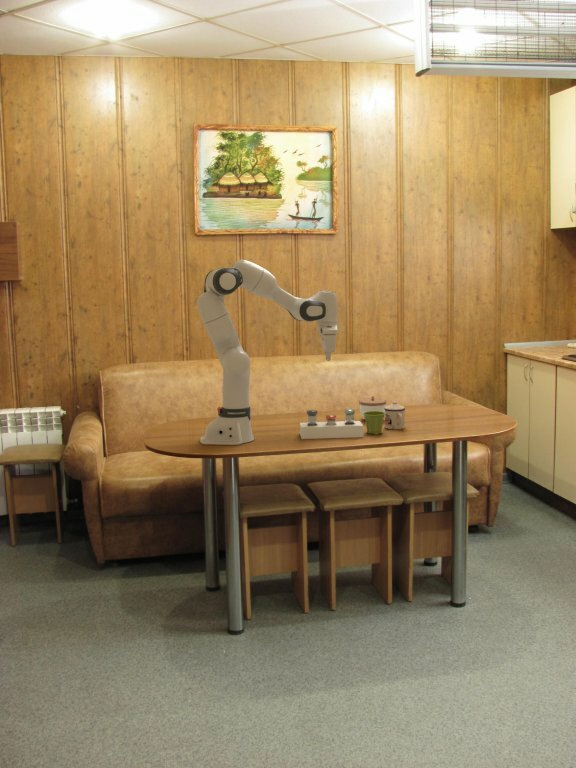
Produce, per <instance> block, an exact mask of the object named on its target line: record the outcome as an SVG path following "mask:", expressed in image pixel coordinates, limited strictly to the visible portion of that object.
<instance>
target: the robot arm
mask: <svg viewBox="0 0 576 768" xmlns="http://www.w3.org/2000/svg"><path fill="white" fill-rule="evenodd" d="M239 287H241V288H244V289H245V290H247V291H249V292H251V293H252V294H254V295H256V296H258V297H261V298H264V299H269V300H270V301H272V302H275V303H276V304H278V305H279V306H281V307H282V308H284V309H285V310H286V311H288V313H289V315H290V316H291V317H292V318H293V319H294V320H296V321H299V322H305V323H307V322H308V323H310V322H314V321H317V322H316V323H317V325H316V327H317V329H316V330H317V334H320V336H319V337H321V348H322V349H323V350H324V355H325V361H326V362H331V357H332V353H335V351H336V344H337V343H336V342H337V339H336V338H337V335H338V333H339V321H338V311H339V310H338V309H339V308H338V307H339V306H338V305H339V304H338V298H337V293H335V292H333V291H330V290H319V291H318V292H316V293H315V294H314V295H312V296H310V297H308V298H304V297H297V296H294V295H292V294H291V293H289V292H288V291H286V290H284V289H283V288H281V287H280V285H278V281H277V278H276V277H275V275H273V274H272V273H271V272H270V271H268V269H266V268H264V267H262V266H260V265H258V264H256V263H254V262H252V261H249V260H247V259H239V260H237V261H236V262H235V263H234V264H233V266H232V267H225V268H224V267H223V268H222V267H220V268H215V269H213V270H210V271H209V272H208V273H207V274H206V276H205V279H204V288H203V293H201V294H200V295H199V296H198V298H197V300H196V305H197V310H198V313H199V317H200V318H201V321H202V324H203V326H204V327H205V330H206V332H207V335H208V337H209V339H210V341H211V344H212V347H213V349H214V351H215V354H216V355H217V358H218V360H219V363H220V365H221V367H222V376H223V377H222V391H221V393H222V406H217V409H216V410H217V415H218V416H216V418H214V419H213V420H212V421H211V422H209V424H207V426H206V428H205V433H204V435H202V436H201V437H200V439H199V442H200V444H202V445H221V446H222V445H232V446H237V445H238V446H239V445H242V444H245V443H249V442H253V441H254V440H255V437H254V435H253V434H254V433H253V429H252V424H251V420H252V419H251V418H252V408H251V406H250V379H251V377H250V376H251V359H250V356H249V354H248V353H247V352H246V351H245V350H244V349H243V346H242V344H241V340H240V339H239V336H238V333H237V329H236V327H235V326H234V323H233V321H232V318H231V316H230V313H229V311H228V309H227V308H226V305H225V296H228V295H231V294H233V293H234V292H236V291H237V289H238V288H239Z"/></svg>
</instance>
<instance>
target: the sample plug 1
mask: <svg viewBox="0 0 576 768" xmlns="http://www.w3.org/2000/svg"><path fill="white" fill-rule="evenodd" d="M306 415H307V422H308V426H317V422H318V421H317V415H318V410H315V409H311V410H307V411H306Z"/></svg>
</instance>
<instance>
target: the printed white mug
mask: <svg viewBox="0 0 576 768" xmlns="http://www.w3.org/2000/svg"><path fill="white" fill-rule="evenodd" d="M384 409H385V415H384V428H385V429H387V428H388V430H401V429H402V428H403V429H404V428H405V415H406V414H405V412H406V411H405V410H406V408H405V406H402V405H400V404H399V403H398V401H392V403H391V404H389V405H386V407H385V408H384Z"/></svg>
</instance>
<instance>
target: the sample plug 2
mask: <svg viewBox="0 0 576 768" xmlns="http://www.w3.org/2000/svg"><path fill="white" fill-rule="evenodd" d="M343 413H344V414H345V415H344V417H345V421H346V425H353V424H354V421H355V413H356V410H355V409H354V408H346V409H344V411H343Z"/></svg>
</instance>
